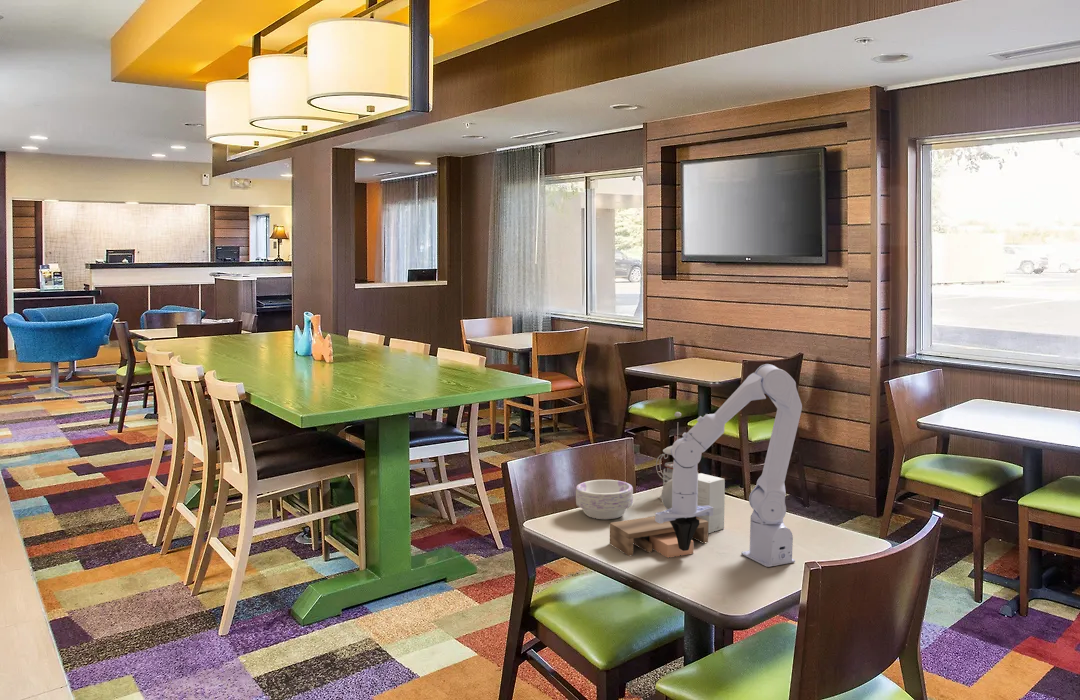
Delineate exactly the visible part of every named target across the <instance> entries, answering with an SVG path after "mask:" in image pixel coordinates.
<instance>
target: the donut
mask: <svg viewBox="0 0 1080 700" xmlns="http://www.w3.org/2000/svg"><path fill="white" fill-rule="evenodd" d="M666 482H667V481H666ZM660 496H661V497H662V500H661V502H662V504H663V506H664V507H665V509H666V510H668V509H671V508H672V479H671V480H669V481H668V482H667V483H666V484H665V486H664V488H663V487H662V490H661V495H660Z"/></svg>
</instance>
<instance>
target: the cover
mask: <svg viewBox="0 0 1080 700" xmlns="http://www.w3.org/2000/svg"><path fill="white" fill-rule="evenodd" d="M649 542H650V543H652V550H653V549H654V551H655V550H656V551H655V552H657V553H659V554H660V553H661V555H662V556H664V557H665V556H666V558H667V559H669V557H670V558H675V557H674V556H676V557H681V556H685V555H686V556H687V555H691V554H694V544H695V543H694V540H693V539H692V540H691V543H690V547H689V550H686V551H683V550H681V549H679V545H678V541H677V537H676V534H675V532H670V533H664V534H657V535H651V536H649ZM680 555H681V556H680Z"/></svg>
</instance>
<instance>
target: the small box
mask: <svg viewBox="0 0 1080 700" xmlns="http://www.w3.org/2000/svg"><path fill="white" fill-rule="evenodd" d="M725 480H726V479H725V478H722V477H718V476H715V475H714V476H713V475H710V474H705V473H702V472H700V473H699V472H698V500H697V506H706V505H709V506H711V507H713V516H708V515H706V516H699V517H700V518H702V519H704V520H706V521H708V534H711V533H713V532H714V531H715V532H716V531H721V530H723V529H725V498H726V497H725V493H726V492H725V491H726V488H725V486H726V484H725V483H726V481H725Z"/></svg>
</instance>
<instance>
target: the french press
mask: <svg viewBox="0 0 1080 700" xmlns="http://www.w3.org/2000/svg"><path fill="white" fill-rule="evenodd" d="M681 416H682V413H681V412H680V411H675V413H674V417H681ZM676 430H677V433H676V435H677V436H676V440H678V439H679V423H677V429H676ZM671 449H672V445H670V446H667V447H666V448H664V449H662V452H663V453H662V454H660V455H659V456H657V459H656V461H655V469H656V472H657V475H658V476H659V477H660V479H662V489H663V488H664V486H665V484H666V483H667V482H668V481H669V480H671V479H672V476H673V462H674V461H669V462H668V461H667V462H665V463H664V467H665V468H663V470H662V469H661V468H662V467H661V464H658V462H662V458H664V460H666V459H668V458H669V456H672V454H671ZM666 455H667V456H666ZM658 460H659V461H658ZM658 465H659V470H660V473H661V474H660V473H659V471H658ZM662 471H663V472H662ZM661 475H662V476H661ZM660 498H661V499H662V497H661V495H659V499H660ZM661 499H660V500H661Z"/></svg>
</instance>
